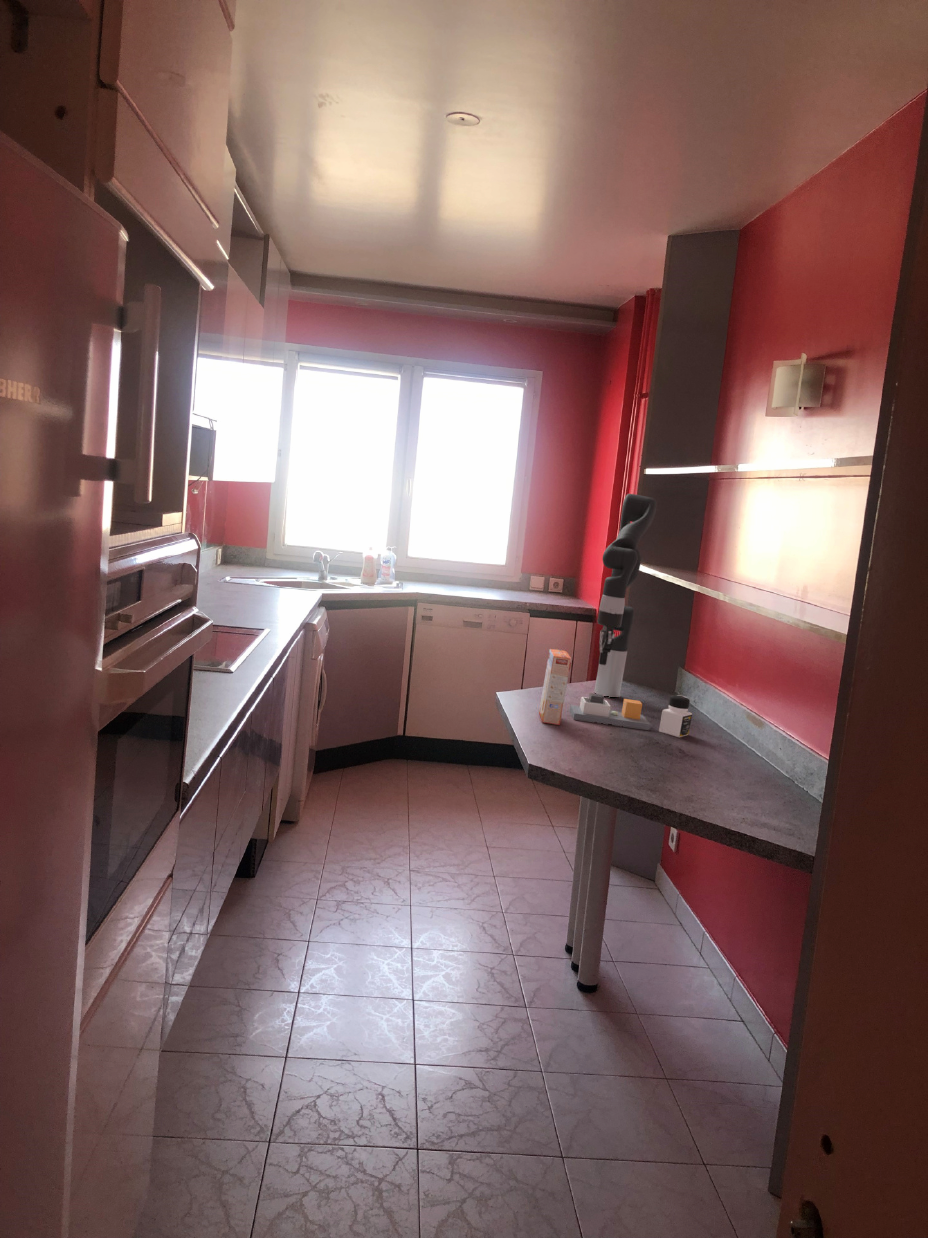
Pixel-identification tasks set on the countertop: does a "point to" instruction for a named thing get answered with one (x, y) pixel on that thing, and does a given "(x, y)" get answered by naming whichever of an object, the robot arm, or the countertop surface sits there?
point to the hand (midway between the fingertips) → (602, 664)
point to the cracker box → (554, 686)
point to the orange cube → (631, 709)
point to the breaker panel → (605, 715)
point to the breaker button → (596, 698)
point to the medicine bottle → (676, 717)
